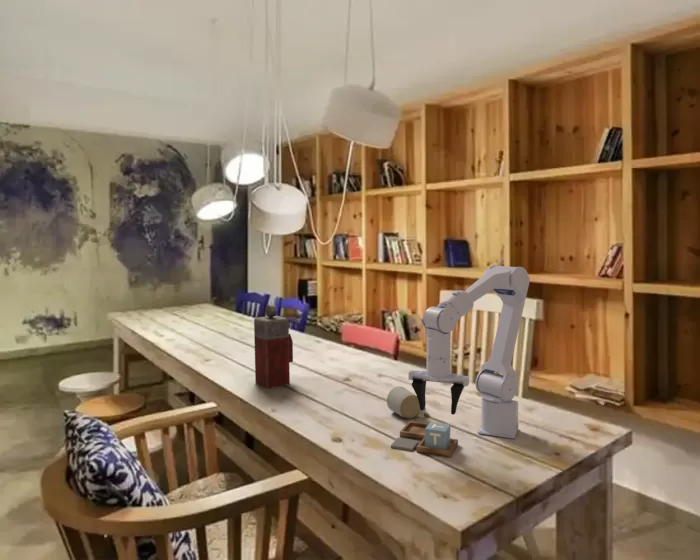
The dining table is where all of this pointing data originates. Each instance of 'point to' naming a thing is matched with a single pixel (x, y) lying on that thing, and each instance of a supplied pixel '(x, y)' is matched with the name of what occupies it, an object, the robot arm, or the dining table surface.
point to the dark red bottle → (272, 349)
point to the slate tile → (404, 444)
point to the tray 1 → (414, 430)
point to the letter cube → (437, 435)
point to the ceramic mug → (403, 402)
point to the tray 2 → (438, 452)
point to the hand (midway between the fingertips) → (438, 411)
